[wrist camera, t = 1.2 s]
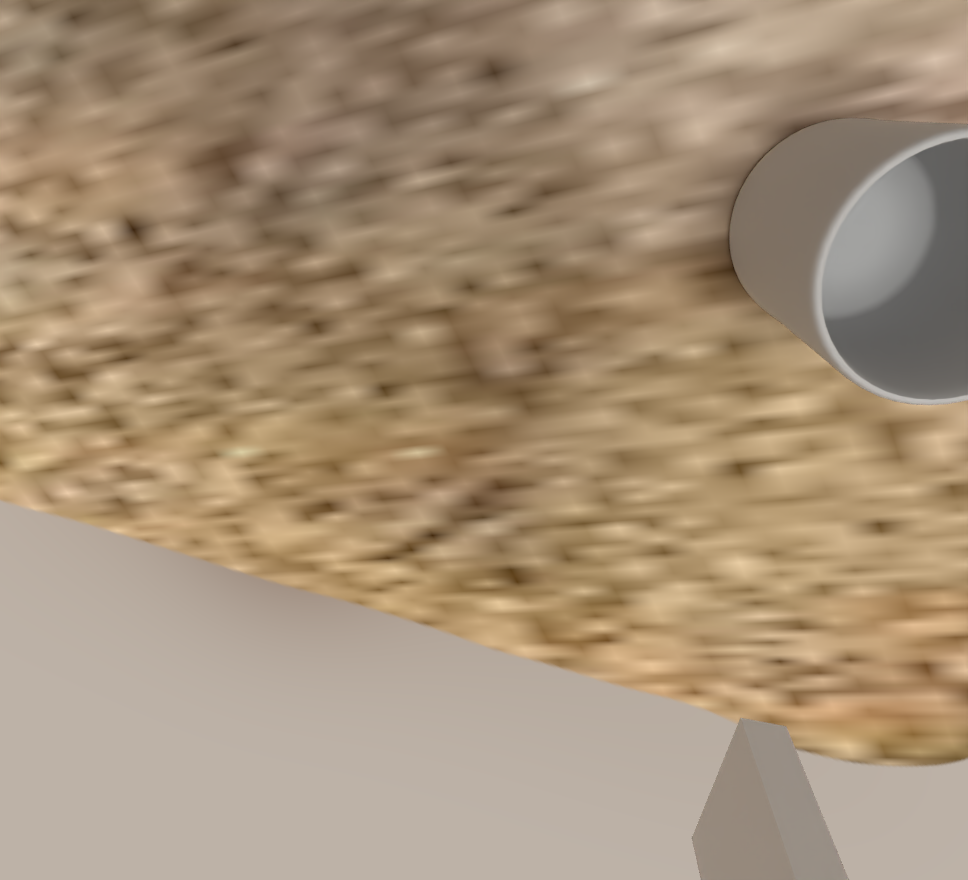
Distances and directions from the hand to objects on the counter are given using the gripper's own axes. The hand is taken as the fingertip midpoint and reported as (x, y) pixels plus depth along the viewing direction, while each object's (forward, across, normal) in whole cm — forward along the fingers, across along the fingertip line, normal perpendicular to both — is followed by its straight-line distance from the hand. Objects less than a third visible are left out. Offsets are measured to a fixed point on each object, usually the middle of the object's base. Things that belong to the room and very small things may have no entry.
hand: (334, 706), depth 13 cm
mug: (+26, +16, +7) cm, 31 cm away
